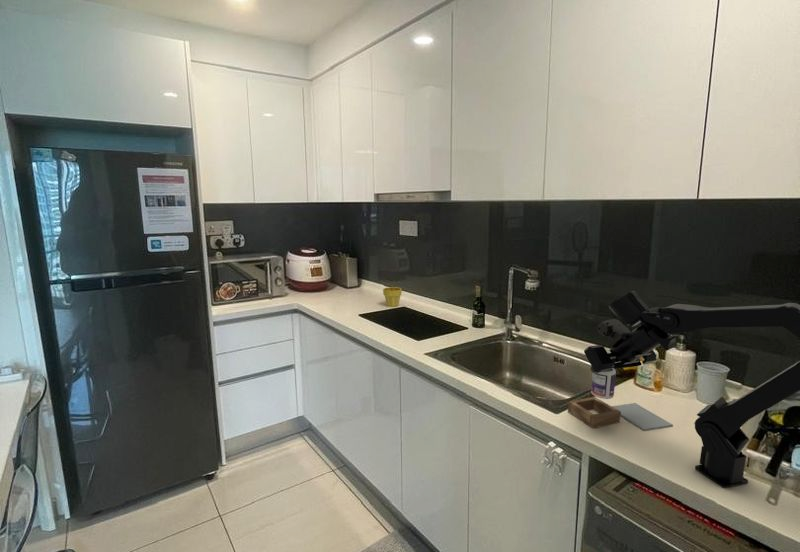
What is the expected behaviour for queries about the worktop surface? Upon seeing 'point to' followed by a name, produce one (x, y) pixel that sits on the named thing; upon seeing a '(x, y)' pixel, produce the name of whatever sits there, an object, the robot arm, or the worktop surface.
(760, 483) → the worktop surface
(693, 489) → the worktop surface
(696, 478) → the worktop surface
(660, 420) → the grey mat
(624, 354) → the robot arm
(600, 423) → the walnut socket
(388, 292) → the plant pot
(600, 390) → the pill bottle
